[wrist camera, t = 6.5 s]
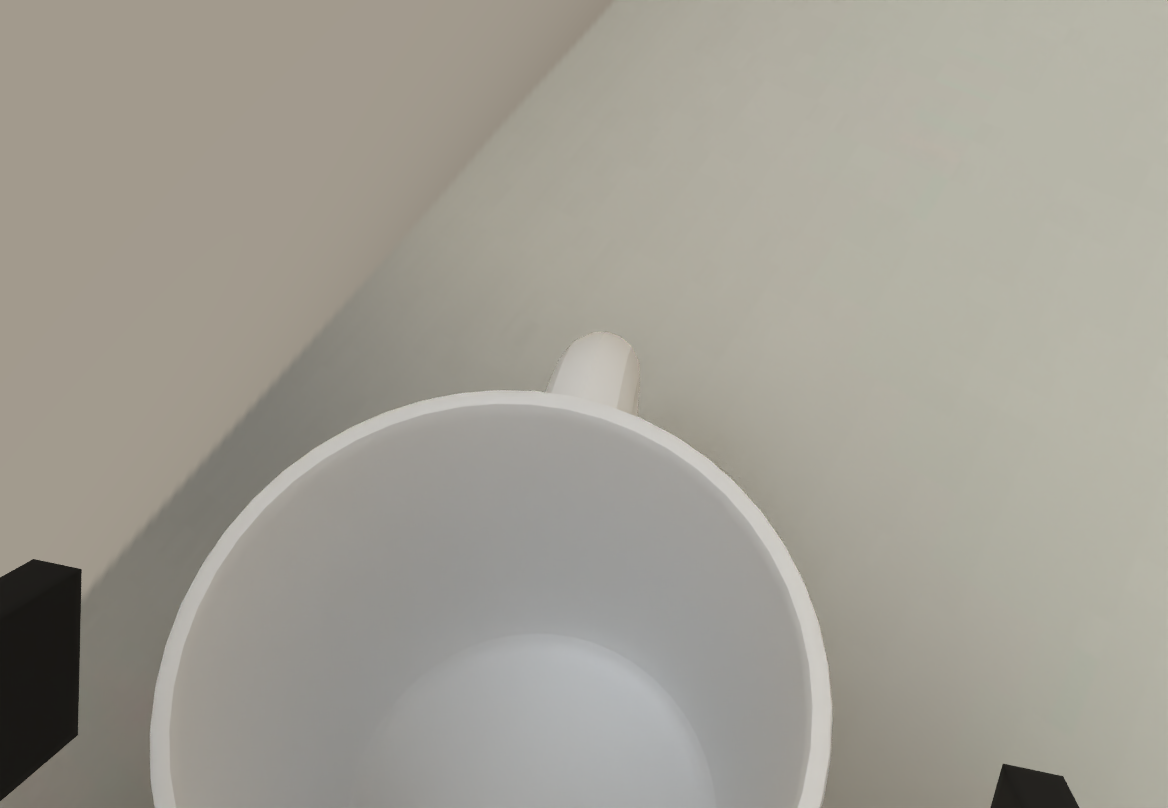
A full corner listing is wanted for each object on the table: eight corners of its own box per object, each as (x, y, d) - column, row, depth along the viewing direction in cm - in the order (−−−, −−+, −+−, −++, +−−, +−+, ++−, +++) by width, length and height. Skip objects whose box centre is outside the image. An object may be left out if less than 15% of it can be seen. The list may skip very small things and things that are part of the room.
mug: (453, 454, 26) (380, 158, 17) (781, 521, 25) (886, 244, 16) (272, 989, 20) (11, 964, 11) (696, 1107, 19) (789, 1184, 10)
